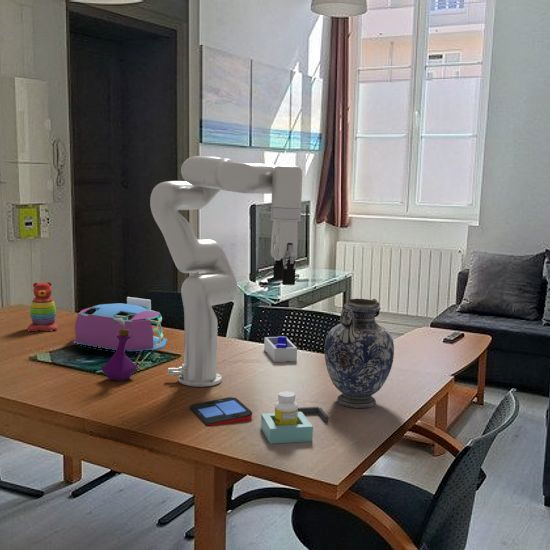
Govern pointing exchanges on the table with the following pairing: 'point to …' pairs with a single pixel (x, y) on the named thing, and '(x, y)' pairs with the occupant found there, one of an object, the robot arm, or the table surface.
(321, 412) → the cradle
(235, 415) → the game console
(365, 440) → the table surface
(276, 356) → the box
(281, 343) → the cable clip
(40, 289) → the stacking bear
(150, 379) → the table surface
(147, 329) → the stadium
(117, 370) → the perfume bottle
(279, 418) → the supplement bottle
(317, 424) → the table surface
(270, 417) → the port
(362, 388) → the decorative vase
